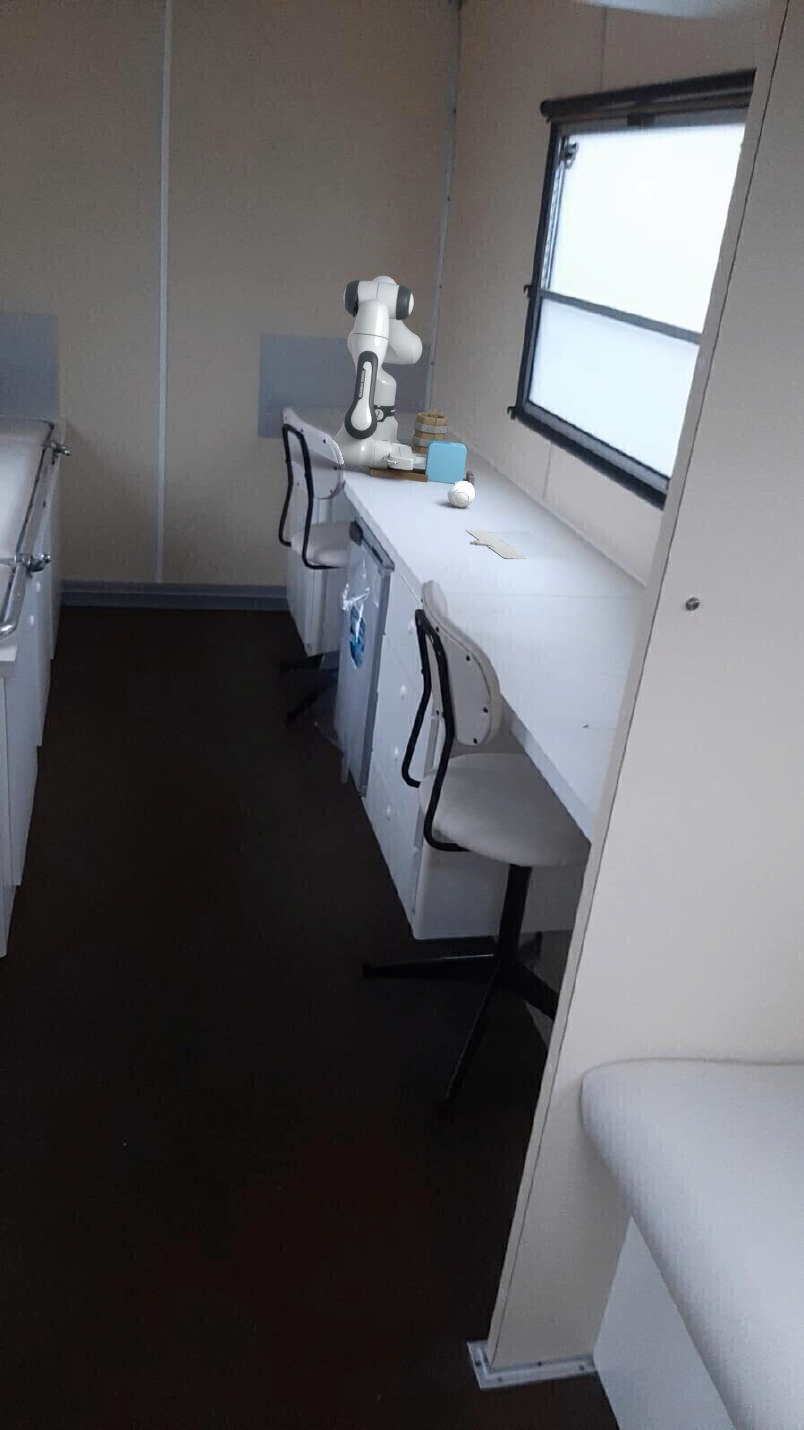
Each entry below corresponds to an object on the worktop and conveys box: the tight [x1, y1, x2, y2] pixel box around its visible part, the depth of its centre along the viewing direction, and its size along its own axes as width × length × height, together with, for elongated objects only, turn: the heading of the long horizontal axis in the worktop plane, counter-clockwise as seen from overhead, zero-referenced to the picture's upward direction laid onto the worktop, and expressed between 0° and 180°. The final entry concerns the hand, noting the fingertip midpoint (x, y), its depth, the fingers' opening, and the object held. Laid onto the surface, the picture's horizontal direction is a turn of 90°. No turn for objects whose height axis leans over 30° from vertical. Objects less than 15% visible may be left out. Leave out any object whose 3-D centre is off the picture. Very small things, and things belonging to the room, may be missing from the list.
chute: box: [369, 466, 476, 487], centre depth 358 cm, size 10×33×3 cm, turn 92°
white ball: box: [447, 480, 476, 508], centre depth 329 cm, size 8×8×8 cm
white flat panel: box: [466, 529, 529, 560], centre depth 300 cm, size 25×24×1 cm
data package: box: [424, 440, 468, 485], centre depth 357 cm, size 12×4×12 cm, turn 91°
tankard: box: [411, 407, 449, 458], centre depth 392 cm, size 20×13×15 cm, turn 171°
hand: (426, 459), depth 357 cm, fingers closed
